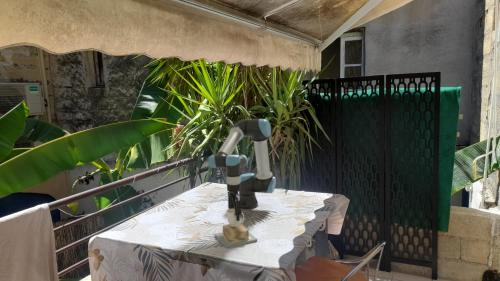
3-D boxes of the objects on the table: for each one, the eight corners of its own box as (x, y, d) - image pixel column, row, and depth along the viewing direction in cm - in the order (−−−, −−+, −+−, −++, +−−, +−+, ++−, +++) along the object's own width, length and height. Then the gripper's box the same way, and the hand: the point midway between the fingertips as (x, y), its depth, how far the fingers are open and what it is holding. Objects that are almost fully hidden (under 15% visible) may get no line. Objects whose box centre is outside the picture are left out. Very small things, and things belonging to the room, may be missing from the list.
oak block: (241, 230, 203) (241, 222, 203) (248, 239, 191) (248, 230, 190) (223, 233, 200) (222, 225, 199) (229, 242, 187) (229, 233, 187)
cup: (226, 222, 197) (226, 208, 196) (244, 221, 198) (244, 208, 196) (226, 227, 191) (225, 213, 189) (244, 226, 191) (244, 212, 189)
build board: (243, 230, 207) (243, 228, 207) (257, 241, 191) (257, 239, 191) (215, 236, 200) (215, 233, 200) (226, 248, 184) (226, 245, 183)
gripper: (221, 180, 198) (222, 220, 201) (234, 188, 181) (235, 231, 184) (233, 179, 202) (234, 217, 204) (247, 186, 184) (248, 228, 187)
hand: (235, 224), depth 194 cm, fingers closed on cup, 6 cm apart
